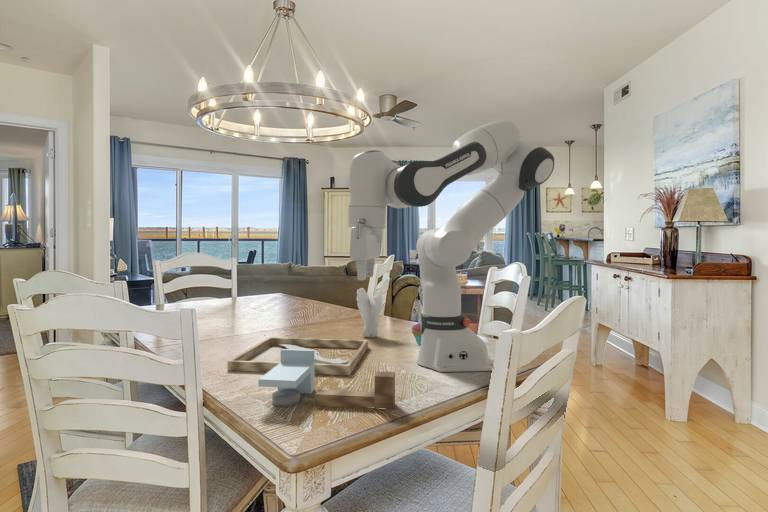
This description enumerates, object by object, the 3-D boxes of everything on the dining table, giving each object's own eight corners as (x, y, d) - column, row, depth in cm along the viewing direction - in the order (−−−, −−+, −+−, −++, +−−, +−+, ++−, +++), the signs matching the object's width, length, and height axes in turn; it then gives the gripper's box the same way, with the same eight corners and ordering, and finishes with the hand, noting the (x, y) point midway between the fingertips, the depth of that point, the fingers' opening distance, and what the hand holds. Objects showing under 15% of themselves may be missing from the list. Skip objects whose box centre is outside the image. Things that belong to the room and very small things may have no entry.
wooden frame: (368, 347, 148) (368, 340, 148) (349, 375, 118) (349, 365, 118) (269, 344, 152) (269, 337, 152) (227, 370, 122) (227, 361, 122)
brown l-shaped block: (394, 403, 98) (395, 372, 97) (393, 409, 94) (393, 376, 94) (319, 400, 100) (319, 369, 99) (314, 406, 96) (314, 373, 96)
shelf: (314, 389, 107) (314, 349, 106) (295, 411, 93) (295, 366, 93) (282, 387, 108) (282, 348, 107) (258, 409, 94) (258, 365, 94)
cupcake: (406, 343, 154) (406, 308, 154) (422, 339, 160) (422, 306, 160) (425, 347, 148) (425, 311, 148) (441, 343, 154) (441, 308, 154)
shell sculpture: (385, 335, 166) (385, 287, 165) (373, 340, 159) (373, 289, 158) (367, 333, 170) (367, 286, 170) (354, 337, 163) (354, 288, 163)
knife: (352, 370, 124) (352, 361, 123) (328, 375, 119) (328, 366, 119) (295, 344, 154) (295, 337, 154) (273, 347, 149) (273, 340, 149)
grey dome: (303, 398, 101) (303, 389, 101) (294, 408, 96) (294, 398, 95) (278, 397, 102) (278, 388, 102) (268, 406, 96) (267, 397, 96)
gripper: (372, 217, 95) (371, 282, 95) (386, 222, 115) (385, 276, 115) (343, 217, 96) (342, 281, 96) (362, 222, 116) (361, 275, 116)
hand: (365, 278), depth 106 cm, fingers open, 8 cm apart
